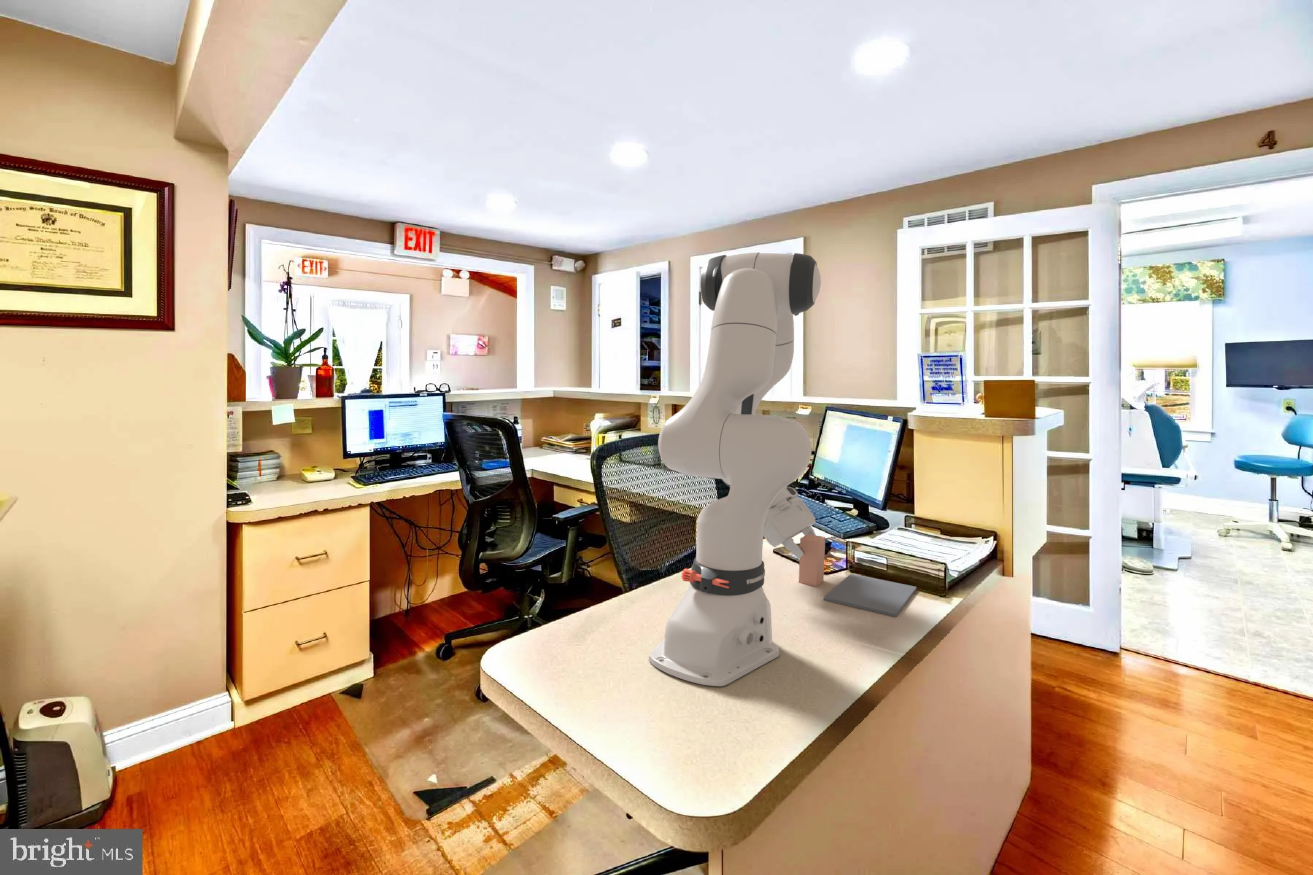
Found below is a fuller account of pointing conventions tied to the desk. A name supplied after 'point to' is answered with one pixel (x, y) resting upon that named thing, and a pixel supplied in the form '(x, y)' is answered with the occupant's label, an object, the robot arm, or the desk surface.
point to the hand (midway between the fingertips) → (810, 550)
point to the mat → (871, 594)
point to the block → (812, 560)
